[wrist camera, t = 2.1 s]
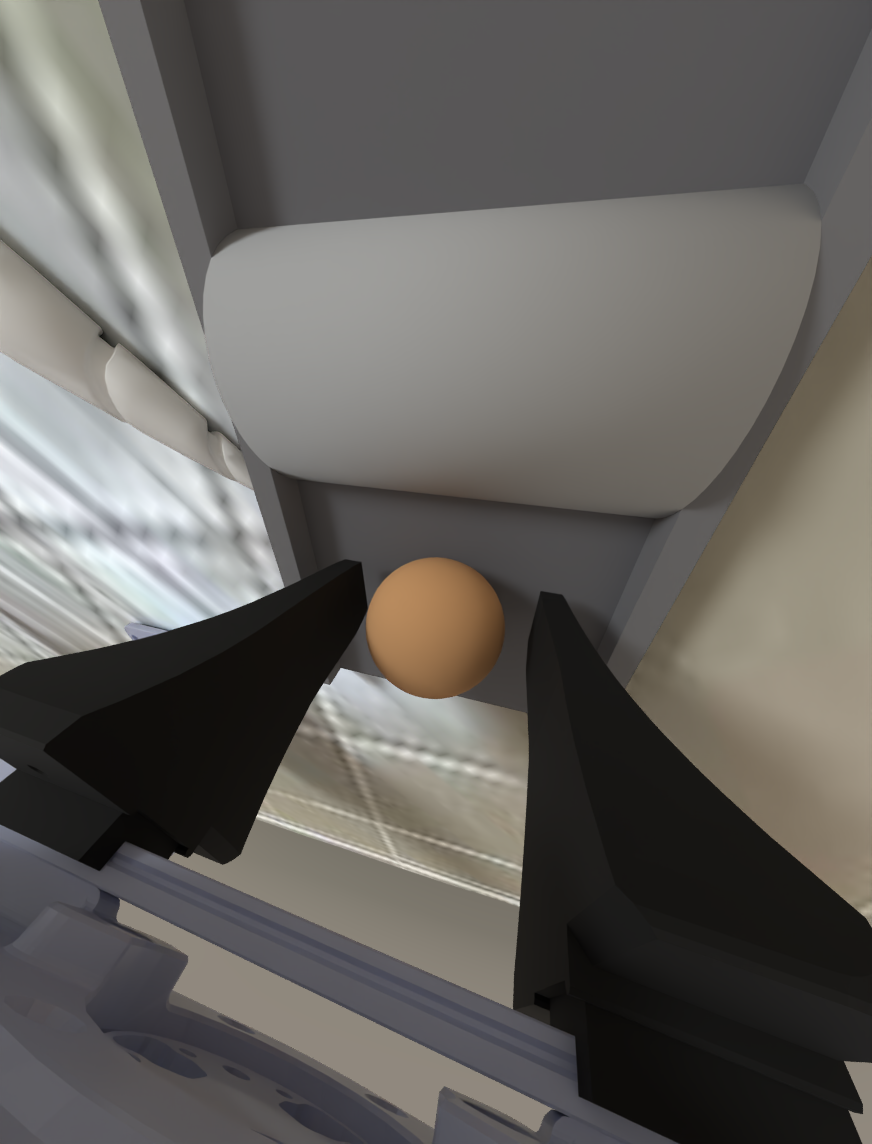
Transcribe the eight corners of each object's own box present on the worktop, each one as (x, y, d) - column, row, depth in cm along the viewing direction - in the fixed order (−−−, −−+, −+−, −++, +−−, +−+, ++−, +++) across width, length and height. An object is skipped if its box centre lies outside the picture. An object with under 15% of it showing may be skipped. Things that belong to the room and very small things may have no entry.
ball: (500, 638, 12) (487, 746, 8) (398, 618, 12) (350, 709, 9) (519, 543, 9) (509, 638, 6) (392, 526, 10) (324, 602, 7)
